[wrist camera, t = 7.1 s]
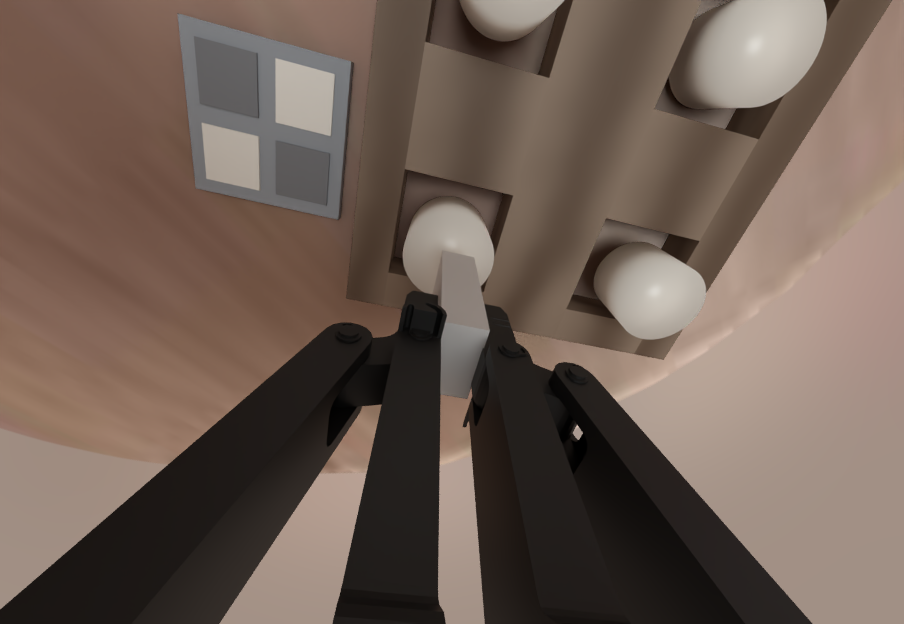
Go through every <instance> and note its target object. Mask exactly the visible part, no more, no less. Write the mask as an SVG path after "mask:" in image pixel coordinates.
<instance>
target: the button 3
mask: <svg viewBox="0 0 904 624" xmlns="http://www.w3.org/2000/svg"><path fill="white" fill-rule="evenodd" d="M594 290H595V293H596V295H597V297H598V298H599V299H600V300H601V302H602V303H603V304H604V305H605V306H606V307H607V309H608V310H609V311H610V312H611V313H612V315H613V316H614V317H615V318H616V319H617V320H618V322H619V323H620V324H621V325H622V326H623V327H624V329H625V330H626V331H627V332H628V333H630V334H631V335H633V336H635V337H637V338H641V339H650V340H652V339H660V338H664V337H668V336H670V335H673V334H675V333H677V332H679V331H680V330H682V329H683V328H685V327H686V326H687V325H689V324H690V323H691V322H692V321H693V320H694V319H695V317H696V316H697V315H698V313H699V312H700V310H701V308H702V306H703V304H704V301H705V297H706V286H705V282H704V280H703V278H702V277H701V275H700V274H699V273H698V272H697V271H695V270H694V269H692V268H691V267H689V266H687V265H686V264H684V263H682V262H681V261H679V260H678V259H676V258H674V257H673V256H671V255H669V254H668V253H666V252H664V251H663V250H661V249H660V248H658V247H656V246H654V245H652V244H650V243H646V242H632V243H627V244H625V245H622V246H620V247H618V248H616V249H614V250H613V251H612V252H610V253H609V254H608V255H607V256H606V257H605V258H604V259H603V260H602V261H601V263H600V264H599V266H598V268H597V270H596V273H595V276H594Z"/></svg>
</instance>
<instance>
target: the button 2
mask: <svg viewBox="0 0 904 624" xmlns="http://www.w3.org/2000/svg"><path fill="white" fill-rule="evenodd" d="M459 1H460V4H461V7H462V9H463V12H464V14H465V15H466V17H467V19H468V20H469V22H470V23H471V25H472V26H473V27H474V28H475V29H476V30H477V31H478V32H480V33H481V34H482V35H484V36H486V37H487V38H490V39H493V40H496V41H513V40H517V39H520V38H522V37H524V36H526V35H528V34H529V33H531V32H532V31H533V30H534V29H536V28H537V27H538V26H539V25H540V24H541V23H542V22H543V21H544V20H545V19H546V18H547V17H548V16H549V15H550V14H551V13H552V12H553V11H554V10H556V9H557V8H558V7H559V6H560V5H561V4H562V3H563V2H564V0H459Z"/></svg>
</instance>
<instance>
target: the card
mask: <svg viewBox="0 0 904 624" xmlns="http://www.w3.org/2000/svg"><path fill="white" fill-rule="evenodd" d="M178 23H179V32H180V42H181V51H182V61H183V71H184V80H185V90H186V99H187V109H188V119H189V128H190V138H191V148H192V157H193V167H194V176H195V186H196V188H197V189H201V190H206V191H210V192H215V193H219V194H224V195H228V196H233V197H237V198H242V199H246V200H251V201H256V202H260V203H265V204H269V205H274V206H278V207H283V208H287V209H292V210H296V211H301V212H305V213H310V214H315V215H319V216H324V217H328V218H333V219H337V220H338V219H339V218H340V217H341V205H342V194H343V182H344V170H345V158H346V146H347V135H348V123H349V111H350V99H351V87H352V76H353V64H354V63H353V62H351V61H347V60H343V59H340V58H336V57H333V56H329V55H325V54H322V53H318V52H315V51H311V50H308V49H304V48H300V47H297V46H293V45H290V44H286V43H282V42H279V41H275V40H272V39H268V38H264V37H261V36H257V35H254V34H250V33H246V32H243V31H239V30H236V29H232V28H228V27H225V26H221V25H218V24H214V23H210V22H207V21H203V20H200V19H196V18H192V17H189V16H185V15H182V14H178Z"/></svg>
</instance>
